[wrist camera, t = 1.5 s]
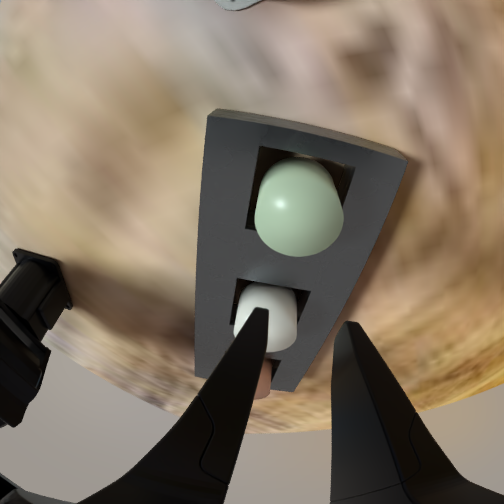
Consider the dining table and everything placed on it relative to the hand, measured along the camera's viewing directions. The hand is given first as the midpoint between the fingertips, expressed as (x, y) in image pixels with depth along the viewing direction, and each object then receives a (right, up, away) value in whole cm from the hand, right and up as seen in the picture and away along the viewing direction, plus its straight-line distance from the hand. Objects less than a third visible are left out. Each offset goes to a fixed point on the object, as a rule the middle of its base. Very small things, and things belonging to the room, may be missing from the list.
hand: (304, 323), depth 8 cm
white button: (0, -1, +12) cm, 12 cm away
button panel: (0, -1, +13) cm, 13 cm away
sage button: (+1, +5, +7) cm, 9 cm away
